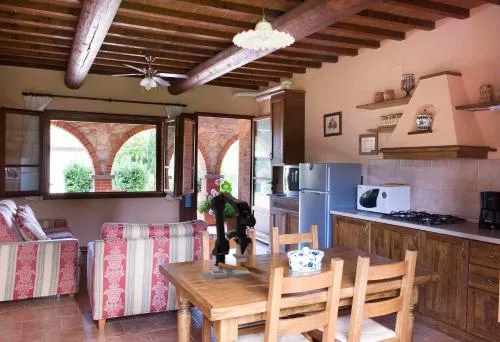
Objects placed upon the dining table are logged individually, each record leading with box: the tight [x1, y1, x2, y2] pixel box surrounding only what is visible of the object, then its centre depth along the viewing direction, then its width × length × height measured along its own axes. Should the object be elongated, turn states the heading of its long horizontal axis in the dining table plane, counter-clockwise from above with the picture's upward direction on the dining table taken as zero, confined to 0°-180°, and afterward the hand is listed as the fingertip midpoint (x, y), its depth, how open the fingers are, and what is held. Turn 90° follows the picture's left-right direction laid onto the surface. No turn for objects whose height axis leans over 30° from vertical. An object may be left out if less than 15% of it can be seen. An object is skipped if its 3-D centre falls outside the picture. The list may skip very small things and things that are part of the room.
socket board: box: [199, 266, 255, 281], centre depth 226 cm, size 13×26×4 cm, turn 109°
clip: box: [218, 263, 248, 271], centre depth 226 cm, size 19×2×1 cm, turn 52°
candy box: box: [235, 240, 254, 269], centre depth 246 cm, size 9×4×15 cm, turn 110°
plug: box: [232, 243, 250, 262], centre depth 231 cm, size 7×7×9 cm
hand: (240, 253), depth 231 cm, fingers closed on plug, 4 cm apart
